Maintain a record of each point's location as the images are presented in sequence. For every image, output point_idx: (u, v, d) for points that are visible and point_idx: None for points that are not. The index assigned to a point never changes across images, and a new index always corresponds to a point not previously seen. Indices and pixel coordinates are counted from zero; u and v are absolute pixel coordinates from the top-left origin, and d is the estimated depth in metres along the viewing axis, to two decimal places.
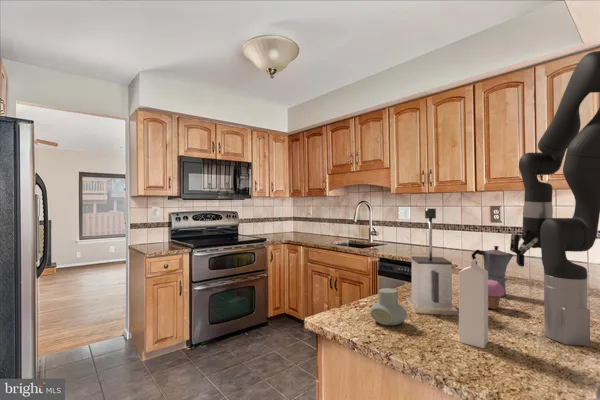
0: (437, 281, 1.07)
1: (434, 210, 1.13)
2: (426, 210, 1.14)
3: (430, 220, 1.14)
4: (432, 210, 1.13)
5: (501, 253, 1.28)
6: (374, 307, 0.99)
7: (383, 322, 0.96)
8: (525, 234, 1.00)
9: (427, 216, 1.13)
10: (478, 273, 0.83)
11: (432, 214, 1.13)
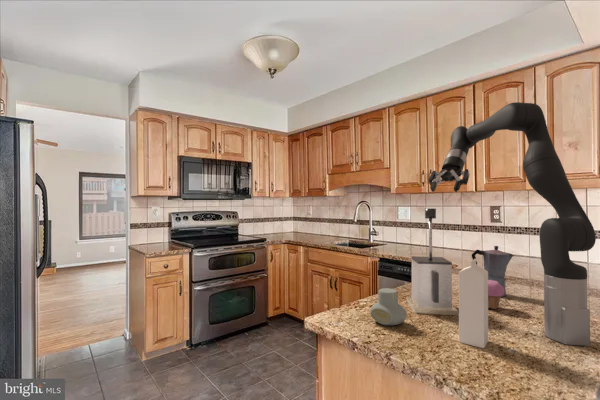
0: (437, 281, 1.07)
1: (434, 210, 1.13)
2: (426, 210, 1.14)
3: (430, 220, 1.14)
4: (432, 210, 1.13)
5: (501, 253, 1.28)
6: (374, 307, 0.99)
7: (383, 322, 0.96)
8: None
9: (427, 216, 1.13)
10: (478, 273, 0.83)
11: (432, 214, 1.13)
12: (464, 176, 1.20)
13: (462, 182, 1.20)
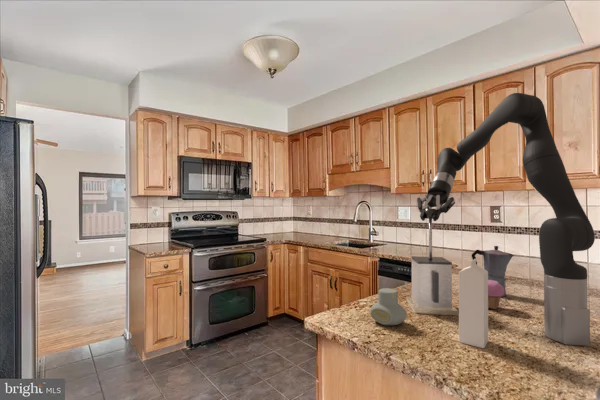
0: (437, 281, 1.07)
1: (434, 210, 1.13)
2: (426, 210, 1.14)
3: (430, 220, 1.14)
4: (432, 210, 1.13)
5: (501, 253, 1.28)
6: (374, 307, 0.99)
7: (383, 322, 0.96)
8: (425, 196, 1.21)
9: (427, 216, 1.13)
10: (478, 273, 0.83)
11: (432, 214, 1.13)
12: (445, 204, 1.12)
13: (441, 211, 1.12)
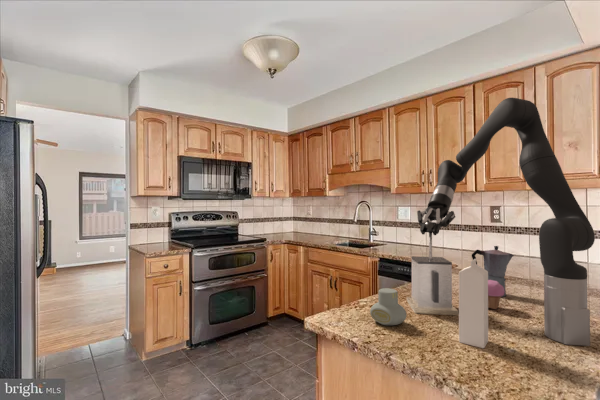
0: (437, 281, 1.07)
1: (434, 224, 1.13)
2: (426, 224, 1.14)
3: (430, 234, 1.14)
4: (432, 224, 1.13)
5: (501, 253, 1.28)
6: (374, 307, 0.99)
7: (383, 322, 0.96)
8: (425, 209, 1.21)
9: (427, 230, 1.13)
10: (478, 273, 0.83)
11: (432, 228, 1.13)
12: (445, 218, 1.12)
13: (441, 225, 1.12)
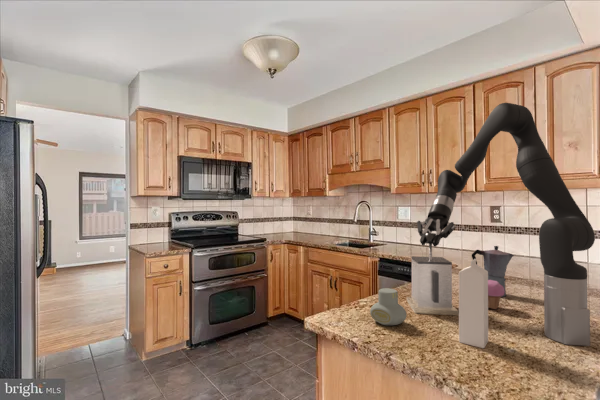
0: (437, 281, 1.07)
1: (434, 235, 1.13)
2: (426, 235, 1.14)
3: (430, 245, 1.14)
4: (432, 235, 1.12)
5: (501, 253, 1.28)
6: (374, 307, 0.99)
7: (383, 322, 0.96)
8: None
9: (427, 241, 1.13)
10: (478, 273, 0.83)
11: (432, 239, 1.12)
12: (445, 230, 1.12)
13: (441, 236, 1.12)
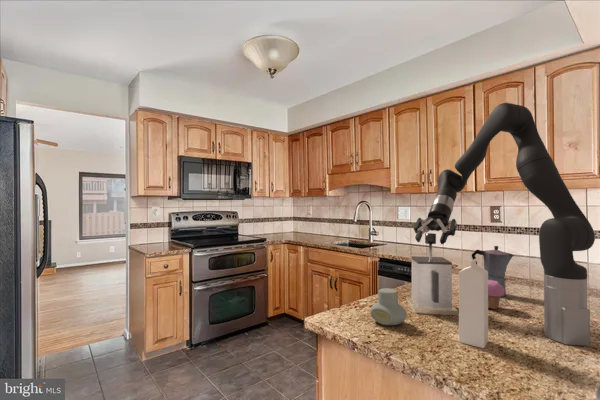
0: (437, 281, 1.07)
1: (434, 235, 1.13)
2: (426, 235, 1.14)
3: (430, 245, 1.14)
4: (432, 235, 1.12)
5: (501, 253, 1.28)
6: (374, 307, 0.99)
7: (383, 322, 0.96)
8: (426, 218, 1.21)
9: (427, 241, 1.13)
10: (478, 273, 0.83)
11: (432, 239, 1.12)
12: (451, 227, 1.12)
13: (449, 234, 1.12)
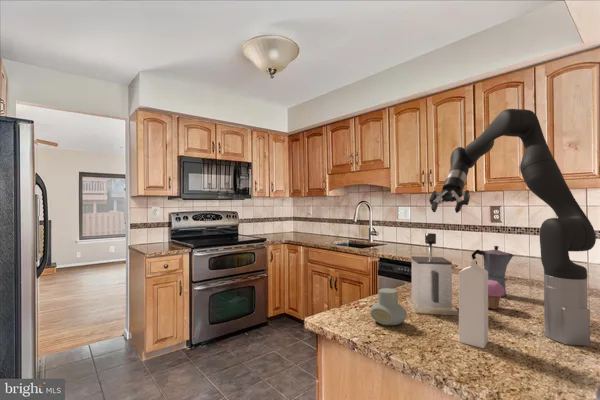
0: (437, 281, 1.07)
1: (434, 235, 1.13)
2: (426, 235, 1.14)
3: (430, 245, 1.14)
4: (432, 235, 1.12)
5: (501, 253, 1.28)
6: (374, 307, 0.99)
7: (383, 322, 0.96)
8: (441, 191, 1.31)
9: (427, 241, 1.13)
10: (478, 273, 0.83)
11: (432, 239, 1.12)
12: (465, 197, 1.21)
13: (463, 203, 1.21)
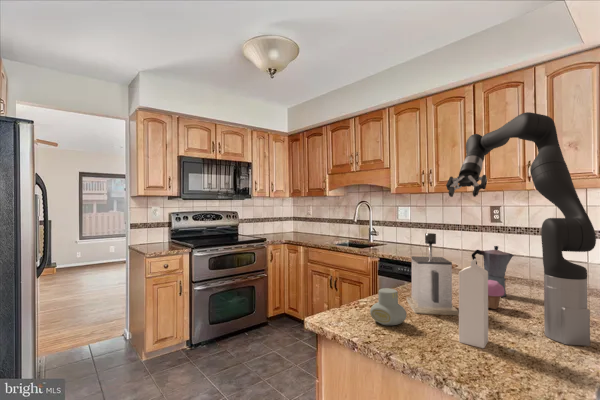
0: (437, 281, 1.07)
1: (434, 235, 1.13)
2: (426, 235, 1.14)
3: (430, 245, 1.14)
4: (432, 235, 1.12)
5: (501, 253, 1.28)
6: (374, 307, 0.99)
7: (383, 322, 0.96)
8: None
9: (427, 241, 1.13)
10: (478, 273, 0.83)
11: (432, 239, 1.12)
12: (482, 181, 1.23)
13: (480, 187, 1.23)
